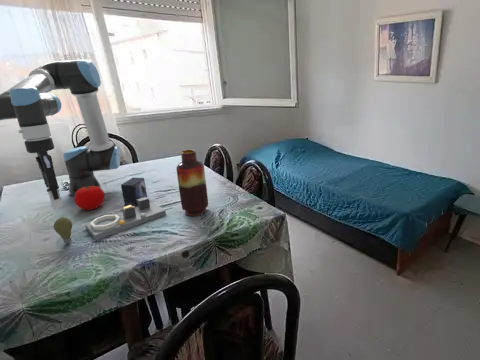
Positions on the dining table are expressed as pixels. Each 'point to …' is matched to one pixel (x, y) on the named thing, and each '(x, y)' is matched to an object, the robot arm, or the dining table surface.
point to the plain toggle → (143, 203)
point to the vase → (192, 184)
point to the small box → (133, 191)
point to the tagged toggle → (128, 211)
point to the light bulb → (63, 229)
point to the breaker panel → (122, 221)
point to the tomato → (89, 197)
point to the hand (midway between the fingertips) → (57, 206)
